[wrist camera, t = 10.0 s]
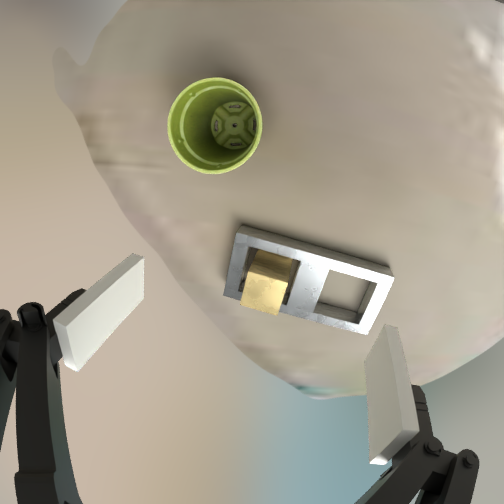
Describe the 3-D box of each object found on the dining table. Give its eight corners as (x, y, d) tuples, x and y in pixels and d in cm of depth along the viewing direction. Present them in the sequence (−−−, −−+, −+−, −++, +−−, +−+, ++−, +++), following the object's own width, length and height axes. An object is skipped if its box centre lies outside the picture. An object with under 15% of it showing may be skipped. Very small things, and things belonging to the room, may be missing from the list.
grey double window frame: (242, 224, 40) (236, 232, 37) (389, 267, 38) (394, 277, 35) (228, 284, 43) (223, 295, 41) (364, 322, 42) (366, 334, 39)
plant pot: (200, 165, 38) (170, 176, 30) (195, 92, 34) (164, 85, 26) (275, 162, 36) (264, 172, 28) (272, 85, 32) (259, 72, 24)
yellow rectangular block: (259, 247, 40) (248, 271, 34) (292, 257, 40) (287, 283, 34) (251, 277, 42) (239, 304, 36) (283, 286, 42) (277, 315, 36)
